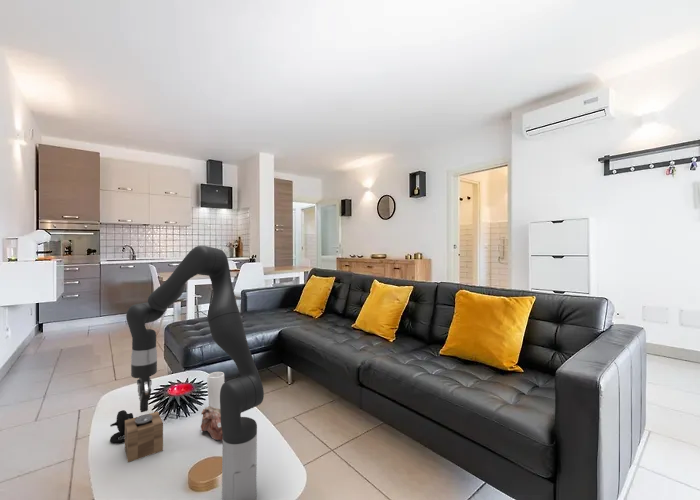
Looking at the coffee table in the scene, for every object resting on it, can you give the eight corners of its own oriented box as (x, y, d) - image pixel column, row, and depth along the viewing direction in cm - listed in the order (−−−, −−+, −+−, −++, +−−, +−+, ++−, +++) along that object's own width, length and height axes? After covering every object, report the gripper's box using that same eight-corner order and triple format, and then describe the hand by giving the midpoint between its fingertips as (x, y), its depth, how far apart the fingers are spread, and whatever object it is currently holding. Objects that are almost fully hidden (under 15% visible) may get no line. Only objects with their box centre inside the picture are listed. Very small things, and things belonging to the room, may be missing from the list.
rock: (204, 397, 131) (240, 392, 131) (209, 423, 132) (245, 418, 132) (184, 421, 116) (226, 415, 116) (190, 450, 117) (232, 444, 116)
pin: (153, 448, 113) (153, 418, 113) (135, 453, 110) (136, 423, 109) (150, 441, 117) (151, 412, 116) (134, 446, 113) (134, 417, 113)
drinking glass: (203, 411, 138) (203, 376, 138) (214, 404, 145) (214, 370, 145) (216, 414, 136) (217, 378, 136) (227, 406, 143) (227, 372, 143)
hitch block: (162, 450, 112) (163, 423, 112) (127, 462, 106) (127, 433, 106) (157, 437, 120) (157, 411, 120) (124, 447, 114) (124, 420, 113)
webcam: (137, 438, 119) (138, 410, 119) (113, 447, 114) (113, 418, 113) (131, 430, 124) (131, 403, 124) (107, 438, 119) (107, 411, 119)
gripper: (160, 364, 110) (159, 415, 110) (153, 353, 120) (153, 400, 120) (133, 369, 105) (133, 422, 105) (129, 357, 115) (128, 406, 116)
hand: (144, 410), depth 113 cm, fingers closed
